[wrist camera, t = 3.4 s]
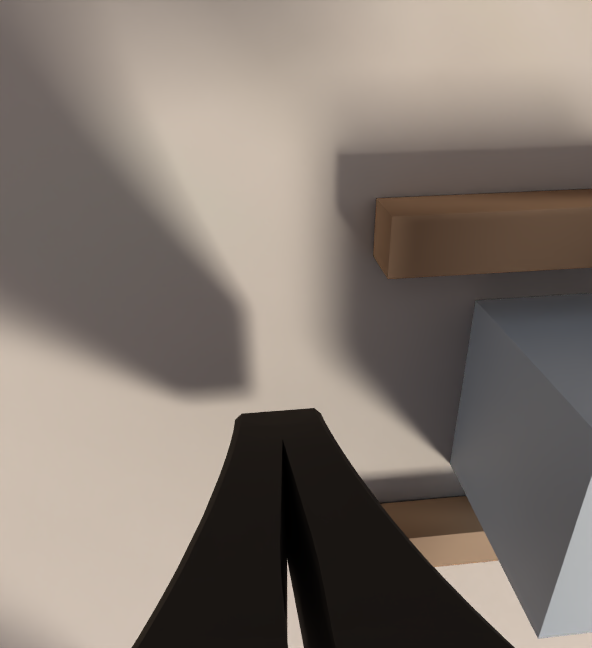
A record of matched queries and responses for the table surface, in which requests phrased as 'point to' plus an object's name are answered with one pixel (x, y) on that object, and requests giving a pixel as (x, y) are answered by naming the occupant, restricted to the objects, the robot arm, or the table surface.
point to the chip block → (532, 450)
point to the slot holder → (462, 259)
